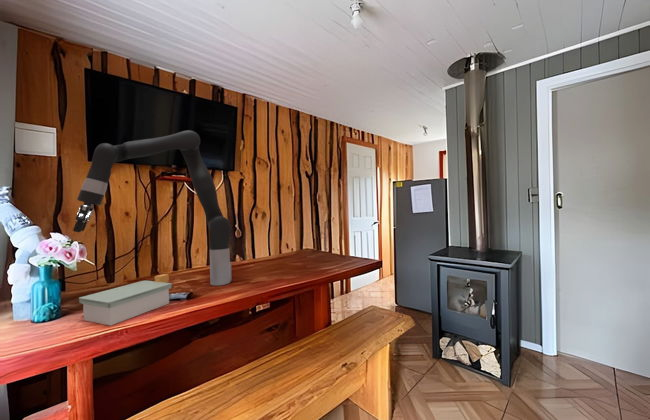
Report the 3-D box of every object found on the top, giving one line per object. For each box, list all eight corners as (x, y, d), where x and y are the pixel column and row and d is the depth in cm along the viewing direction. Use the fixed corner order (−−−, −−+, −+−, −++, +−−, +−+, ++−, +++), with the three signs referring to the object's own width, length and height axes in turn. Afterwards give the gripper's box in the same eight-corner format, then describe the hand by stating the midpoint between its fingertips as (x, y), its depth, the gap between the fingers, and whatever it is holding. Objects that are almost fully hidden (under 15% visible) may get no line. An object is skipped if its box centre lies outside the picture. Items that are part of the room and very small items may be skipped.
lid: (153, 282, 118) (152, 272, 117) (180, 285, 112) (179, 275, 112) (78, 303, 93) (78, 291, 93) (108, 308, 87) (108, 295, 87)
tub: (144, 299, 113) (143, 282, 113) (169, 303, 108) (168, 285, 108) (83, 320, 93) (83, 299, 93) (110, 325, 88) (109, 303, 88)
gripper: (103, 193, 106) (88, 234, 103) (106, 195, 117) (92, 232, 115) (78, 187, 102) (61, 230, 99) (83, 189, 113) (69, 228, 111)
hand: (78, 231), depth 107 cm, fingers open, 8 cm apart
